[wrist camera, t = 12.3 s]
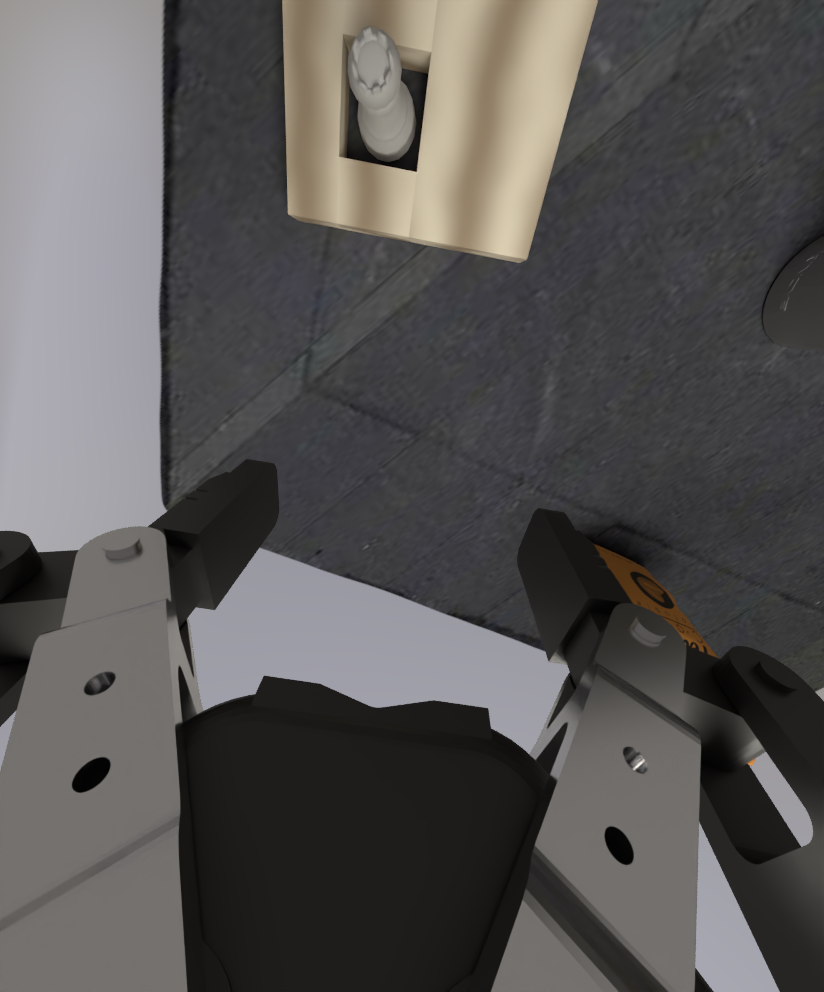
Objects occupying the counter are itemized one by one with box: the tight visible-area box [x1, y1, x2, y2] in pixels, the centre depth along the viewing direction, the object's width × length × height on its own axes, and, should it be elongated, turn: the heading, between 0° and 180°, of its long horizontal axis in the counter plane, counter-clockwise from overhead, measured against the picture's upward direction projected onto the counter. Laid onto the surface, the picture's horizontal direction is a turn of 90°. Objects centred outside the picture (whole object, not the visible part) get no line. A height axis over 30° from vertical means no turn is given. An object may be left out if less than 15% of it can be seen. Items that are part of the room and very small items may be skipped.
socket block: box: [282, 0, 598, 263], centre depth 25 cm, size 20×14×2 cm
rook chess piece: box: [347, 25, 416, 162], centre depth 22 cm, size 4×4×8 cm
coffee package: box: [594, 544, 755, 765], centre depth 38 cm, size 10×12×22 cm
